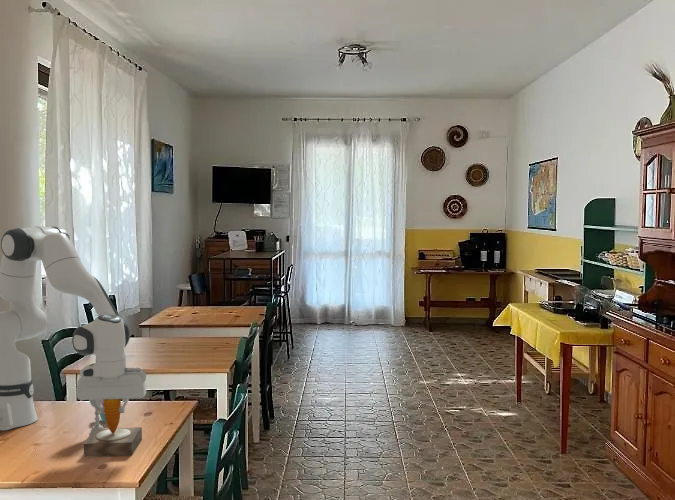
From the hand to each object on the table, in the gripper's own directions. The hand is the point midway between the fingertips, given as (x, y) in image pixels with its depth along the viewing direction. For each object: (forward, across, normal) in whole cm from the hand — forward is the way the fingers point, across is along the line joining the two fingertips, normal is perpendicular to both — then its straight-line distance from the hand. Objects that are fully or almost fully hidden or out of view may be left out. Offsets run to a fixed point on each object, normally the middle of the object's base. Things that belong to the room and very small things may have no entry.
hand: (112, 412), depth 213 cm
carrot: (+7, 0, 0) cm, 7 cm away
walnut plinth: (+11, 0, 0) cm, 11 cm away
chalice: (+11, +9, -15) cm, 21 cm away
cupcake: (+11, +9, -29) cm, 32 cm away
